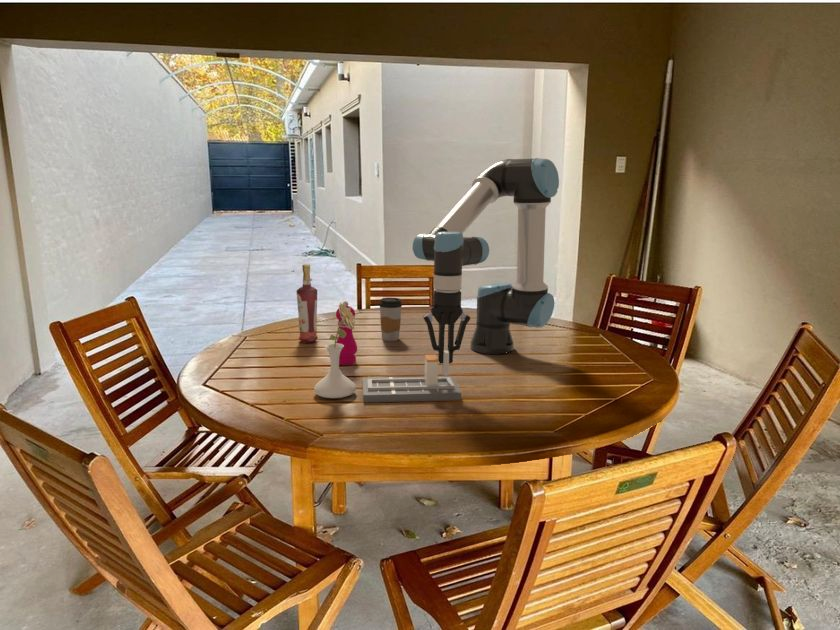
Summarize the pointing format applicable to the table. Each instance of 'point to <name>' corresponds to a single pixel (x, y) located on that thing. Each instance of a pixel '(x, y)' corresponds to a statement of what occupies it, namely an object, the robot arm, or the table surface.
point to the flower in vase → (337, 363)
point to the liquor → (307, 308)
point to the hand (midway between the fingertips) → (445, 374)
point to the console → (409, 389)
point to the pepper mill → (346, 341)
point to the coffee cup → (390, 318)
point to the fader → (431, 370)
